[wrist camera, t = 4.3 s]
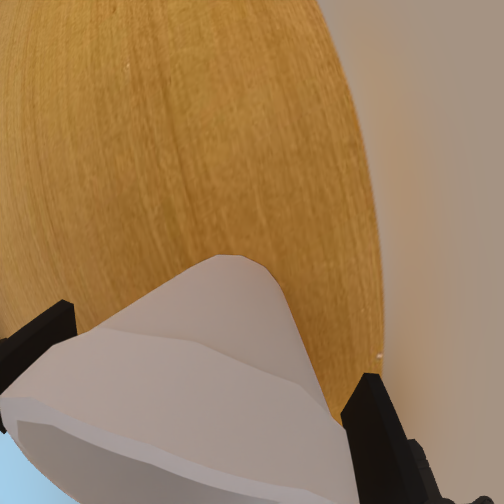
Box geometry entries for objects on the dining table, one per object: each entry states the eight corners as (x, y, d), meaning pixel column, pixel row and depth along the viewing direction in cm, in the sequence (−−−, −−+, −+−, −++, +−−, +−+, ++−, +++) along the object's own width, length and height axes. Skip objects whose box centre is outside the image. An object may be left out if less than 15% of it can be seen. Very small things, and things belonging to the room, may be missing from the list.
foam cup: (139, 244, 16) (-42, 365, 3) (294, 210, 14) (388, 397, 2) (185, 370, 18) (118, 529, 6) (316, 355, 17) (345, 548, 4)
